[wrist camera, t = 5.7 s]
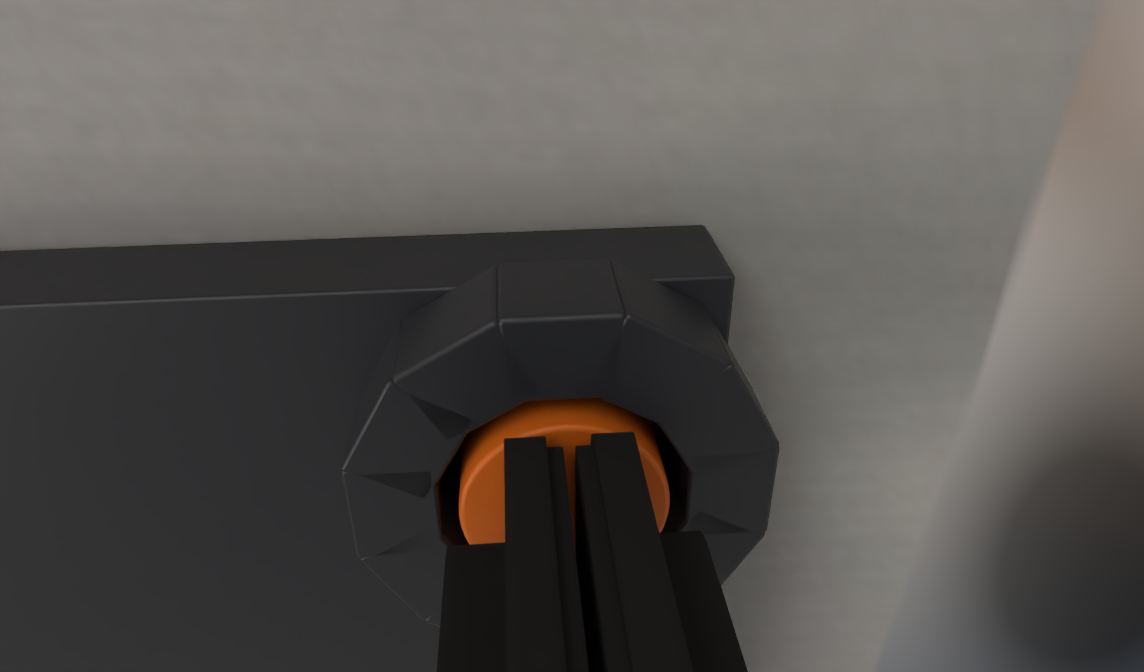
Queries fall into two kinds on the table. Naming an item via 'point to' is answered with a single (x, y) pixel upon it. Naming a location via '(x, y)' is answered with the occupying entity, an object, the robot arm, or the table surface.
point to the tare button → (562, 428)
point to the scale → (327, 431)
